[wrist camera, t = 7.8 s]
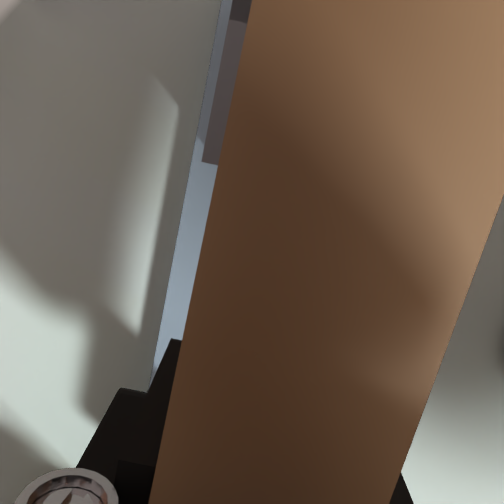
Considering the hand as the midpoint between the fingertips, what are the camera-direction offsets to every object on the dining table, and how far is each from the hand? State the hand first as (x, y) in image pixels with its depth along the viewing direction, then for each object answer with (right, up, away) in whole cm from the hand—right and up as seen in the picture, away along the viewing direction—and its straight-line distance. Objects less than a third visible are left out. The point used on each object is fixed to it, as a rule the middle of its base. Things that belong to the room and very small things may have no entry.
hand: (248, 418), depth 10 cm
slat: (0, 0, +2) cm, 2 cm away
